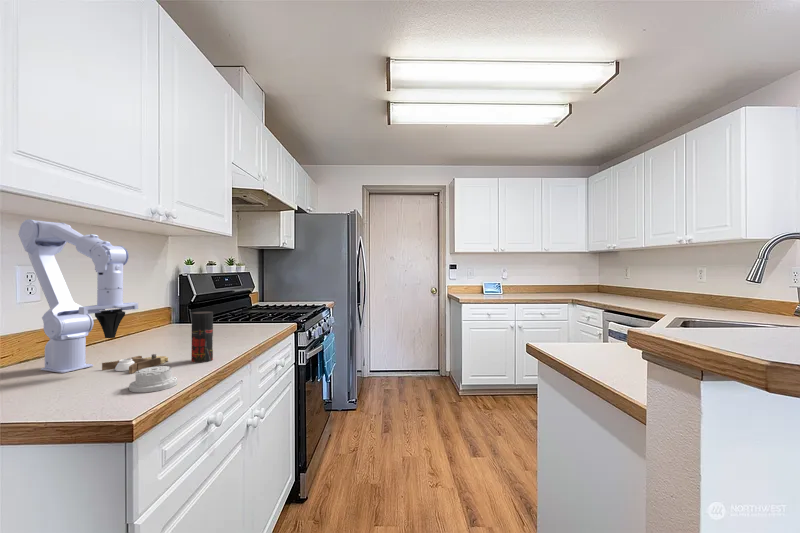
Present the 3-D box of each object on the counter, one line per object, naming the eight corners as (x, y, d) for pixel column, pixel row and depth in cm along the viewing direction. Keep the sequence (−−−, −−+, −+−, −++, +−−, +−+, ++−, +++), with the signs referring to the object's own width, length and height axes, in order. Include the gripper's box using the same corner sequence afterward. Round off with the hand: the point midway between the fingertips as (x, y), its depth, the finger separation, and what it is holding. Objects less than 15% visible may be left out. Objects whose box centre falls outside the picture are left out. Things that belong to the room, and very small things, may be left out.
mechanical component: (118, 392, 90) (153, 395, 88) (118, 373, 90) (153, 376, 88) (153, 380, 100) (186, 382, 98) (154, 363, 100) (186, 365, 98)
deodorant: (189, 360, 120) (189, 312, 120) (209, 357, 124) (209, 311, 124) (194, 363, 116) (194, 314, 116) (215, 360, 120) (215, 312, 120)
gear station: (100, 370, 108) (100, 361, 108) (150, 358, 123) (150, 350, 123) (130, 374, 105) (130, 365, 105) (179, 361, 119) (179, 353, 119)
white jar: (119, 368, 111) (111, 372, 107) (119, 358, 111) (111, 362, 107) (139, 367, 113) (132, 371, 108) (139, 357, 113) (132, 361, 108)
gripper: (91, 290, 98) (91, 343, 98) (145, 287, 112) (145, 334, 112) (73, 289, 101) (73, 341, 101) (128, 287, 114) (128, 333, 114)
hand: (110, 337), depth 106 cm, fingers closed
